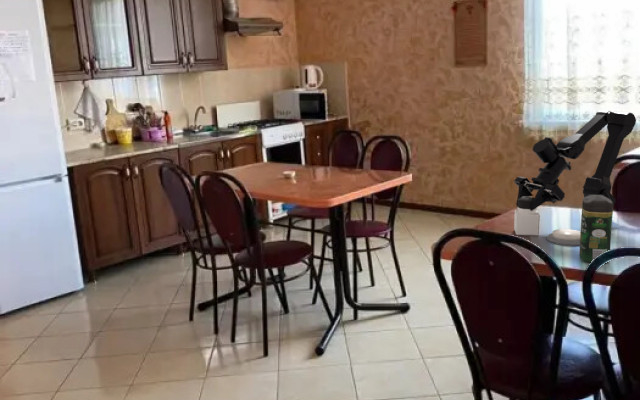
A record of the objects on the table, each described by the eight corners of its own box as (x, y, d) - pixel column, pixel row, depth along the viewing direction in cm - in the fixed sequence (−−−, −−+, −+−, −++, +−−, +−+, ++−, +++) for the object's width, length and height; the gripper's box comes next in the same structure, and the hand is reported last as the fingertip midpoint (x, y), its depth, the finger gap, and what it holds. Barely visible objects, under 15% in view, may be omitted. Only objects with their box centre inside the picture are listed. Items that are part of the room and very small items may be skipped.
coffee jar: (577, 253, 185) (580, 192, 181) (606, 255, 183) (610, 193, 179) (580, 263, 176) (584, 199, 172) (611, 265, 174) (616, 200, 170)
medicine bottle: (538, 235, 204) (540, 200, 202) (516, 235, 206) (517, 199, 203) (535, 230, 211) (537, 195, 209) (514, 229, 213) (515, 195, 210)
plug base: (557, 233, 207) (557, 226, 206) (593, 239, 199) (594, 232, 198) (540, 241, 199) (540, 233, 198) (577, 247, 190) (578, 240, 190)
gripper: (585, 191, 203) (557, 228, 201) (544, 182, 220) (517, 216, 218) (567, 169, 198) (538, 207, 196) (527, 162, 215) (500, 197, 213)
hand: (523, 208), depth 206 cm, fingers closed on medicine bottle, 6 cm apart
